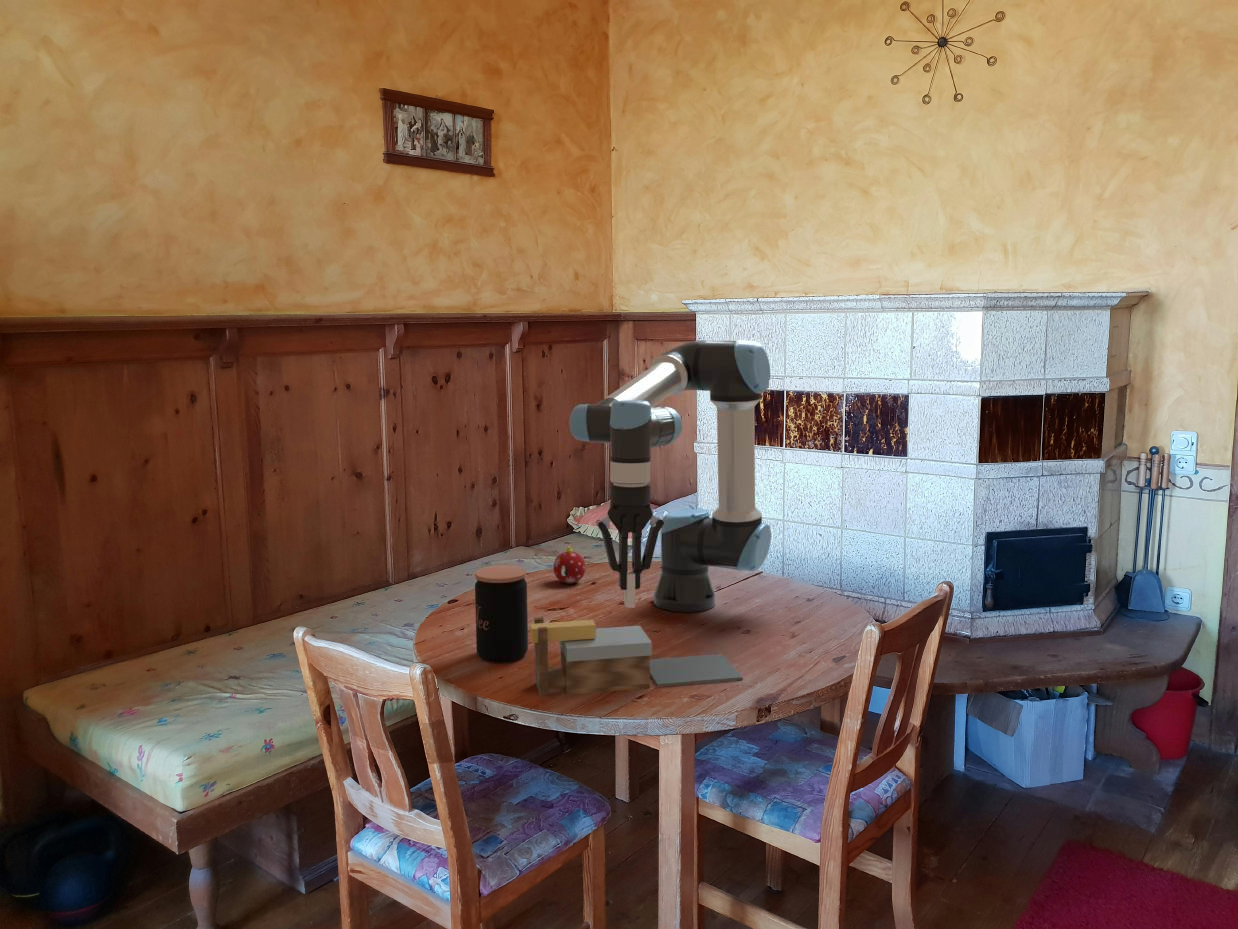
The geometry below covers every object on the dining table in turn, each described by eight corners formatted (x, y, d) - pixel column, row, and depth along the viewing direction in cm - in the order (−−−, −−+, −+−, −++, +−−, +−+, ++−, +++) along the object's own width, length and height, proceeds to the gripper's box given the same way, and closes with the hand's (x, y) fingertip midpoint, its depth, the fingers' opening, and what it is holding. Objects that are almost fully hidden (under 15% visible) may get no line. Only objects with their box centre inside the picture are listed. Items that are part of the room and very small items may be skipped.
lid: (639, 645, 184) (639, 625, 184) (651, 662, 175) (651, 642, 174) (559, 650, 181) (559, 631, 181) (567, 669, 171) (567, 648, 171)
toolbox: (641, 674, 184) (641, 610, 182) (649, 687, 177) (649, 621, 175) (535, 682, 180) (534, 617, 178) (539, 696, 173) (538, 629, 171)
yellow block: (593, 633, 178) (593, 619, 178) (595, 638, 175) (595, 624, 175) (530, 637, 176) (530, 624, 176) (532, 643, 173) (532, 629, 173)
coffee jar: (478, 647, 199) (476, 565, 197) (528, 645, 200) (527, 564, 198) (474, 665, 189) (472, 579, 186) (527, 663, 190) (526, 578, 187)
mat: (721, 656, 193) (721, 654, 193) (742, 680, 181) (742, 677, 181) (642, 663, 190) (642, 660, 190) (657, 687, 177) (657, 684, 177)
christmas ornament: (590, 580, 251) (590, 544, 249) (577, 589, 243) (577, 551, 241) (561, 577, 254) (561, 541, 252) (548, 585, 246) (547, 548, 244)
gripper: (659, 479, 179) (658, 598, 182) (592, 481, 176) (592, 602, 179) (669, 485, 172) (667, 609, 175) (599, 487, 169) (599, 613, 172)
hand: (629, 605), depth 177 cm, fingers closed
